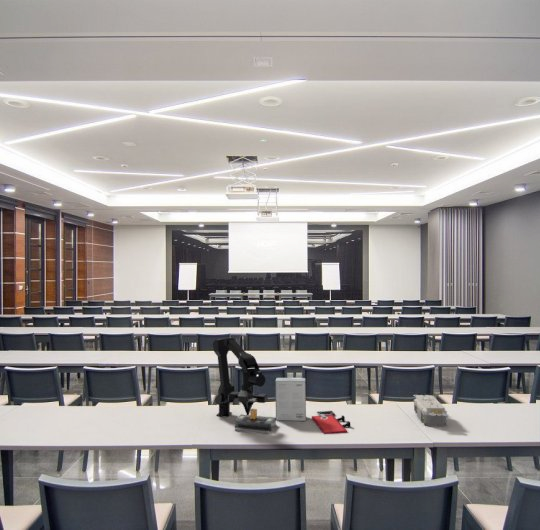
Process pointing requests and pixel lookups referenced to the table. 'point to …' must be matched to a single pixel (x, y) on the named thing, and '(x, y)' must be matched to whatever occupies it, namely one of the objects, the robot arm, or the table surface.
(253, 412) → the lever
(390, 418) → the table surface
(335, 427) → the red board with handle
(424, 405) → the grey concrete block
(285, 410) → the hard drive box
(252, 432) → the dark grey thin bar
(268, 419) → the strip
